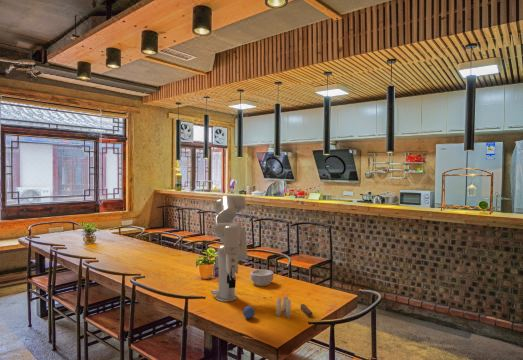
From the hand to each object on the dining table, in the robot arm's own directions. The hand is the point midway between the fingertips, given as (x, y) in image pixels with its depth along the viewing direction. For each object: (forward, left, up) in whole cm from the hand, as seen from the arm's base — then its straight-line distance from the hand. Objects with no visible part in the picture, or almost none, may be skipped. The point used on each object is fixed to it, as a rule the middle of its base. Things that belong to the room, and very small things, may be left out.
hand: (231, 285), depth 176 cm
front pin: (+24, +9, -18) cm, 31 cm away
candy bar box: (-23, +74, -18) cm, 80 cm away
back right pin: (+29, +8, -18) cm, 35 cm away
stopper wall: (+38, +14, -18) cm, 44 cm away
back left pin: (+27, +13, -18) cm, 35 cm away
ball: (+9, +3, -15) cm, 17 cm away
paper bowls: (+10, +58, -18) cm, 62 cm away
